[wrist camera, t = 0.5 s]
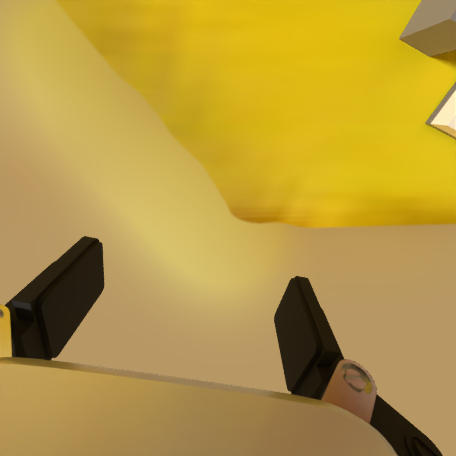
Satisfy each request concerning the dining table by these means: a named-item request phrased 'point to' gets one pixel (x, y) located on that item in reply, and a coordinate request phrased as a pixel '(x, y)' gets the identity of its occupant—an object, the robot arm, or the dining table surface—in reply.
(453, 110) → the socket
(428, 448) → the robot arm
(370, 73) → the dining table surface
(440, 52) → the plug
